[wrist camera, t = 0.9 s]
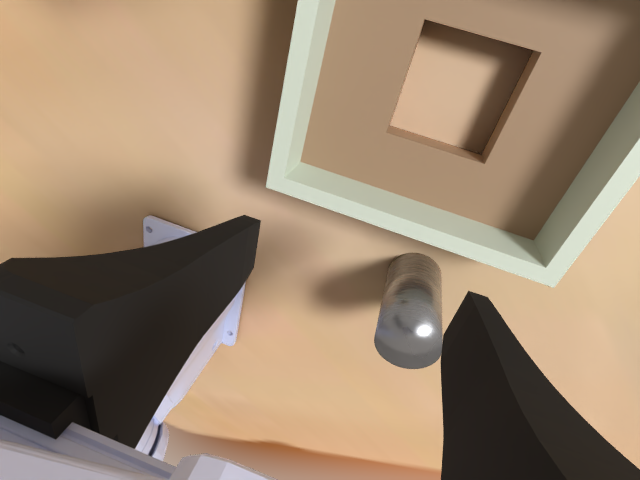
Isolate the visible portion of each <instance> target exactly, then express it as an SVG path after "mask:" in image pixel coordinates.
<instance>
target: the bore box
mask: <svg viewBox="0 0 640 480" xmlns="http://www.w3.org/2000/svg"><path fill="white" fill-rule="evenodd" d="M425 20H428V21H432V22H435V23H439V24H442V25H446V26H449V27H453V28H457V29H460V30H464V31H467V32H471V33H474V34H478V35H481V36H485V37H488V38H492V39H495V40H499V41H502V42H506V43H509V44H513V45H516V46H520V47H523V48H527V49H530V50H533V52H532V54H531V56H530V58H529V60H528V63H527V65H526V67H525V69H524V71H523V73H522V75H521V77H520V79H519V81H518V83H517V85H516V87H515V89H514V91H513V93H512V95H511V97H510V99H509V101H508V103H507V105H506V107H505V109H504V111H503V113H502V115H501V117H500V119H499V121H498V123H497V125H496V127H495V129H494V131H493V133H492V135H491V137H490V139H489V141H488V143H487V145H486V147H485V149H484V151H483V153H482V155H480V154H477V153H474V152H471V151H468V150H465V149H461V148H458V147H455V146H452V145H449V144H446V143H443V142H439V141H436V140H433V139H430V138H427V137H424V136H421V135H417V134H414V133H411V132H408V131H405V130H402V129H399V128H395V127H392V126H390V123H391V120H392V117H393V114H394V111H395V108H396V105H397V102H398V99H399V96H400V93H401V90H402V87H403V84H404V81H405V79H406V76H407V73H408V70H409V67H410V64H411V61H412V58H413V55H414V52H415V49H416V46H417V43H418V40H419V37H420V34H421V31H422V29H423V26H424V23H425ZM639 176H640V0H298V3H297V9H296V15H295V20H294V26H293V32H292V38H291V44H290V49H289V55H288V61H287V67H286V73H285V78H284V84H283V90H282V96H281V101H280V107H279V113H278V119H277V125H276V130H275V136H274V142H273V148H272V154H271V159H270V165H269V171H268V177H267V182H266V188H269V189H272V190H275V191H278V192H281V193H284V194H286V195H289V196H292V197H295V198H298V199H301V200H304V201H306V202H309V203H312V204H315V205H318V206H321V207H324V208H327V209H329V210H332V211H335V212H338V213H341V214H344V215H347V216H349V217H352V218H355V219H358V220H361V221H364V222H367V223H370V224H372V225H375V226H378V227H381V228H384V229H387V230H390V231H392V232H395V233H398V234H401V235H404V236H407V237H410V238H413V239H415V240H418V241H421V242H424V243H427V244H430V245H433V246H435V247H438V248H441V249H444V250H447V251H450V252H453V253H456V254H458V255H461V256H464V257H467V258H470V259H473V260H476V261H478V262H481V263H484V264H487V265H490V266H493V267H496V268H499V269H501V270H504V271H507V272H510V273H513V274H516V275H519V276H521V277H524V278H527V279H530V280H533V281H536V282H539V283H542V284H544V285H547V286H550V287H553V288H554V287H555V286H556V284H557V283H558V282H559V281H560V279H561V278H562V277H563V275H564V274H565V273H566V271H567V270H568V269H569V267H570V266H571V265H572V264H573V262H574V261H575V260H576V258H577V257H578V256H579V254H580V253H581V252H582V251H583V249H584V248H585V247H586V245H587V244H588V243H589V241H590V240H591V239H592V237H593V236H594V235H595V234H596V232H597V231H598V230H599V228H600V227H601V226H602V224H603V223H604V222H605V220H606V219H607V218H608V217H609V215H610V214H611V213H612V211H613V210H614V209H615V207H616V206H617V205H618V204H619V202H620V201H621V200H622V198H623V197H624V196H625V194H626V193H627V192H628V190H629V189H630V188H631V187H632V185H633V184H634V183H635V181H636V180H637V179H638V177H639Z"/></svg>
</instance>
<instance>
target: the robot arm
mask: <svg viewBox="0 0 640 480" xmlns="http://www.w3.org/2000/svg"><path fill="white" fill-rule="evenodd" d="M260 222H261V220H258V219H255V218H252V217H249V216H246V215H243V216H240V217H237V218H234V219H231V220H229V221H226V222H224V223H221V224H218V225H216V226H213V227H210V228H208V229H205V230H202V231H200V232H195V231H192V230H190V229H187V228H184V227H182V226H179V225H176V224H174V223H171V222H168V221H165V220H163V219H160V218H157V217H155V216H152V215H148V216H146V217H145V218H144V219H143V237H144V247H143V248H138V249H132V250H126V251H119V252H113V253H106V254H98V255H88V256H75V257H57V258H11V259H9V260H7V261H5V262H3V263H2V264H0V480H277V479H275V478H273V477H270V476H268V475H265V474H263V473H261V472H258V471H256V470H254V469H251V468H249V467H247V466H244V465H242V464H239V463H237V462H235V461H232V460H230V459H226V458H222V457H219V456H215V455H211V454H207V453H205V454H197V455H190V456H186V457H183V458H182V459H181V461H180V462H179V464H178V465H177V467H175V466H172V465H170V464H168V463H166V462H163V460H164V456H165V452H166V448H167V444H168V440H169V431H168V428H167V426H166V424H164V423H163V420H164V419H165V417H166V416H167V414H168V413H169V412H170V410H171V409H172V408H174V407H175V406H176V405H177V404H178V403H179V402H180V401H181V400H182V399H183V398H184V396H185V395H186V393H187V392H188V390H189V389H190V387H191V386H192V385H193V383H194V382H195V380H196V379H197V377H198V376H199V374H200V373H201V371H202V370H203V369H204V367H205V366H206V364H207V363H208V361H209V360H210V358H211V357H212V355H213V354H214V352H215V351H216V350H217V348H218V347H219V345H220V344H221V343H223V344H226V345H228V346H233V345H234V344H235V342H236V338H237V332H238V326H239V320H240V314H241V308H242V302H243V296H244V290H245V284H246V280H247V278H248V276H249V275H250V273H251V271H252V269H253V268H254V262H255V255H256V248H257V242H258V235H259V229H260ZM150 227H151V229H152V230H151V229H150ZM441 384H442V405H443V427H444V441H443V457H442V473H441V480H640V469H638V468H637V467H636V466H635V465H634V464H632V463H631V462H630V461H629V460H628V459H627V458H625V457H624V456H623V455H622V454H621V453H620V452H619V451H618V450H616V449H615V448H614V447H613V446H612V445H611V444H610V443H609V442H608V441H606V440H605V439H604V438H603V437H602V436H601V435H600V434H599V433H598V432H597V431H596V430H595V429H594V428H593V427H592V426H591V425H590V424H589V423H588V422H587V421H586V420H585V419H584V418H583V417H582V416H581V415H580V414H579V413H578V412H577V411H576V410H575V409H574V408H573V407H572V406H571V405H570V404H569V403H568V402H567V401H566V399H565V398H564V397H563V396H562V395H561V394H560V393H559V392H558V391H557V390H556V388H555V387H554V386H553V385H552V384H551V383H550V382H549V380H548V379H547V378H546V377H545V376H544V374H543V373H542V372H541V371H540V369H539V368H538V367H537V365H536V364H535V363H534V362H533V360H532V359H531V358H530V356H529V355H528V354H527V352H526V351H525V350H524V348H523V347H522V346H521V344H520V343H519V341H518V340H517V339H516V337H515V336H514V334H513V333H512V331H511V330H510V329H509V327H508V326H507V324H506V323H505V321H504V320H503V318H502V317H501V315H500V314H499V312H498V311H497V309H496V308H495V307H494V305H493V304H492V302H491V301H490V300H489V298H488V297H485V296H482V295H479V294H476V293H473V292H470V291H468V293H467V295H466V296H465V298H464V300H463V302H462V303H461V305H460V307H459V309H458V310H457V312H456V314H455V316H454V317H453V319H452V321H451V323H450V324H449V326H448V328H447V330H446V331H445V333H444V335H443V344H442V354H441Z"/></svg>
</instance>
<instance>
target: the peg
mask: <svg viewBox="0 0 640 480" xmlns="http://www.w3.org/2000/svg"><path fill="white" fill-rule="evenodd" d="M374 343H375V347H376V349H377V351H378V352H379V354H380V355H381V356H382V357H383V358H384V359H385V360H387V361H388V362H390V363H391V364H393V365H396V366H398V367H402V368H407V369H420V368H424V367H427V366H430V365H432V364H433V363H435V362H436V361H437V360H438V359H439V357H440V356H441V353H442V282H441V270H440V268H439V266H438V265H437V263H436V262H435V261H434V260H432V259H431V258H430V257H428V256H425V255H423V254H418V253H408V254H404V255H401V256H399V257H397V258H396V259H395V260H394V261H393V262H392V263H391V264H390V266H389V269H388V274H387V279H386V284H385V289H384V293H383V298H382V303H381V308H380V313H379V318H378V323H377V328H376V333H375V338H374Z"/></svg>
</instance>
